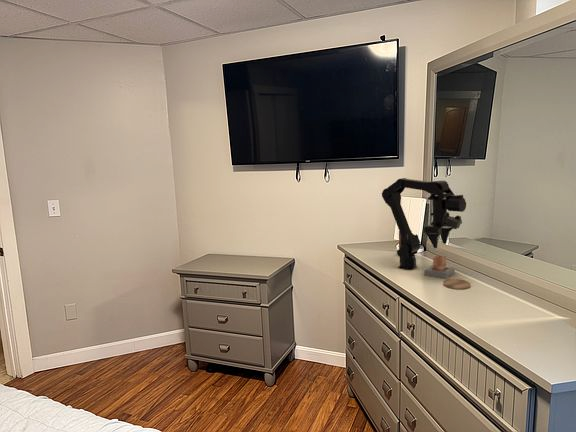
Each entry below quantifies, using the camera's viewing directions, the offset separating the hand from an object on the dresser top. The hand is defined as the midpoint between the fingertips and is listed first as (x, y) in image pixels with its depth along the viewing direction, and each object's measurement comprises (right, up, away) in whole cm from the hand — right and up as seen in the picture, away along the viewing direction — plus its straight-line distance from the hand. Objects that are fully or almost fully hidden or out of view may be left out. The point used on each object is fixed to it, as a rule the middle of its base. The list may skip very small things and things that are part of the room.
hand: (440, 246), depth 167 cm
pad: (+2, -15, -12) cm, 19 cm away
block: (+1, -13, +3) cm, 13 cm away
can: (-4, -8, +35) cm, 36 cm away
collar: (+1, -13, +3) cm, 13 cm away
